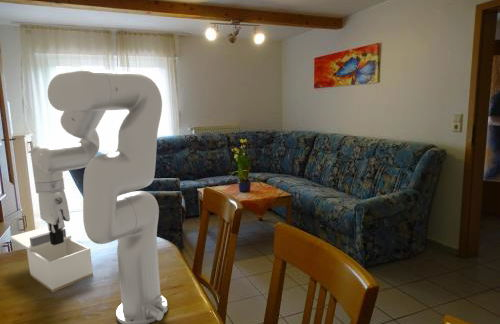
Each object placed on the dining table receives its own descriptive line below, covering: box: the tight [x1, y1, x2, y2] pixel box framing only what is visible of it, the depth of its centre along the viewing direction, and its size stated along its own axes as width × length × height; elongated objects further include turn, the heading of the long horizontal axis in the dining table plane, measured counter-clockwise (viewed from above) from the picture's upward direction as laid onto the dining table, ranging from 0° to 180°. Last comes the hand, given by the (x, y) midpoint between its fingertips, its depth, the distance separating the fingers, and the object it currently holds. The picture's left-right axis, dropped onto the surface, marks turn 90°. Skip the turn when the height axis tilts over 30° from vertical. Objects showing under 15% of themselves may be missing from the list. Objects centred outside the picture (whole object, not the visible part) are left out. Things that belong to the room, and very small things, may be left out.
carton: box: [26, 238, 94, 293], centre depth 106 cm, size 16×12×9 cm
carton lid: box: [10, 225, 72, 251], centre depth 113 cm, size 16×12×3 cm
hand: (57, 243), depth 105 cm, fingers closed
